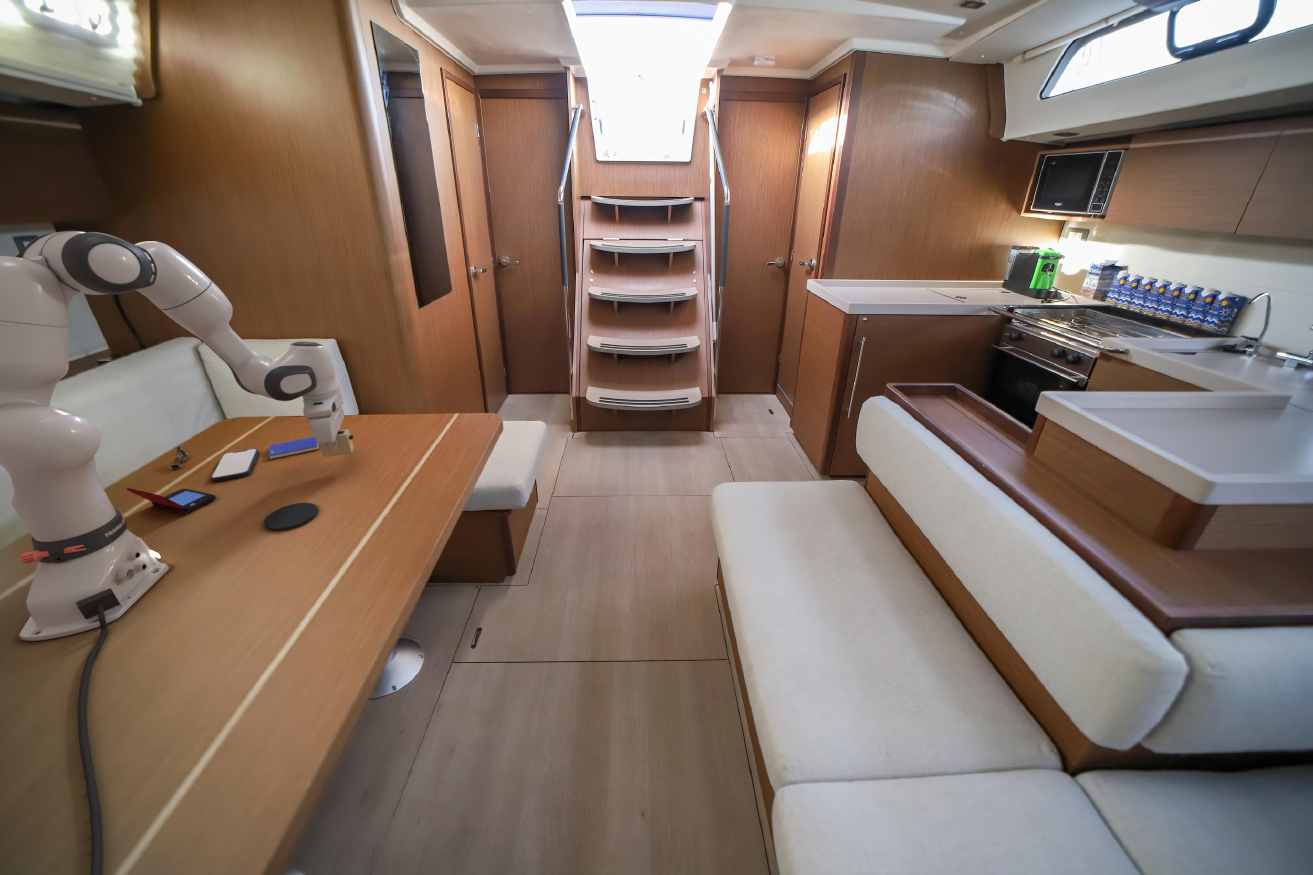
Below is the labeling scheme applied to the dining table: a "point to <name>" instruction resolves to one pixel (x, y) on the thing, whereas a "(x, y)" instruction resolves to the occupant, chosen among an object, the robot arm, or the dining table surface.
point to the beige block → (340, 444)
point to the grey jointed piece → (178, 456)
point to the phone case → (235, 465)
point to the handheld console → (178, 499)
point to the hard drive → (292, 447)
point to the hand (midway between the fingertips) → (336, 445)
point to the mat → (291, 516)
